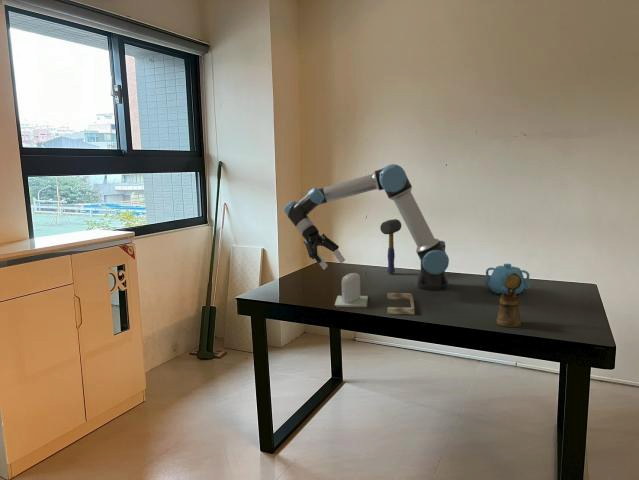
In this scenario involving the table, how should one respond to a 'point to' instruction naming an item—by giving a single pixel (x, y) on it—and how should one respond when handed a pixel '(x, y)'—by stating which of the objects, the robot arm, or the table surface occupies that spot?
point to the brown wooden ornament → (510, 303)
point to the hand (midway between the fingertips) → (334, 264)
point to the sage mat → (357, 303)
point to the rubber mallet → (390, 240)
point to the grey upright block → (350, 287)
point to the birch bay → (400, 310)
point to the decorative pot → (499, 277)
